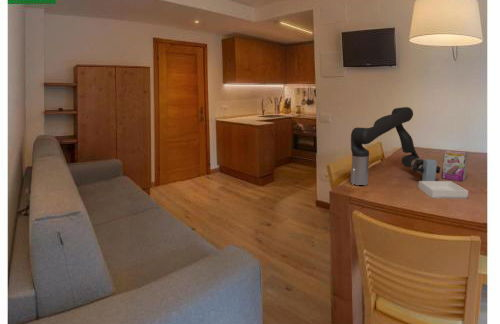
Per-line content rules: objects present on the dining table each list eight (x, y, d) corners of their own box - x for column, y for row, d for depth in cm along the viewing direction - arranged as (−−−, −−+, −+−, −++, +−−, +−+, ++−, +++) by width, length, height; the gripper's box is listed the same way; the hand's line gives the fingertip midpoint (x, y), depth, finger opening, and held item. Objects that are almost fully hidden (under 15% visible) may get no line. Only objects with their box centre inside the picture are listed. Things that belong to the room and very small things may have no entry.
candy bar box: (441, 178, 188) (443, 152, 185) (444, 177, 192) (446, 150, 188) (462, 181, 180) (465, 154, 177) (465, 180, 183) (468, 152, 180)
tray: (432, 198, 154) (432, 190, 153) (418, 188, 172) (419, 181, 171) (467, 198, 152) (468, 190, 151) (450, 188, 169) (450, 181, 168)
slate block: (425, 185, 176) (427, 161, 173) (421, 183, 181) (423, 159, 178) (434, 185, 175) (436, 161, 172) (431, 183, 180) (433, 159, 177)
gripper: (407, 159, 191) (417, 164, 175) (432, 159, 188) (445, 164, 172) (406, 171, 192) (416, 177, 176) (431, 171, 190) (444, 177, 174)
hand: (430, 171), depth 174 cm, fingers open, 7 cm apart
